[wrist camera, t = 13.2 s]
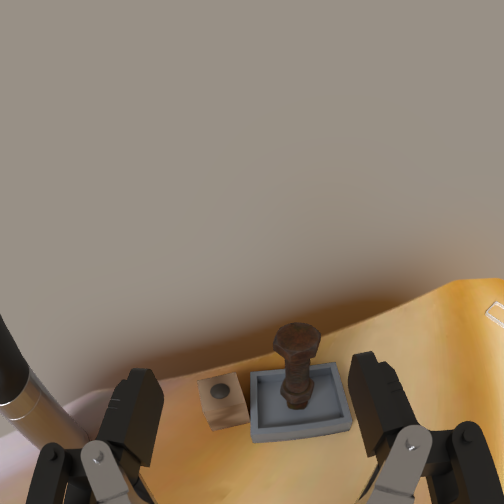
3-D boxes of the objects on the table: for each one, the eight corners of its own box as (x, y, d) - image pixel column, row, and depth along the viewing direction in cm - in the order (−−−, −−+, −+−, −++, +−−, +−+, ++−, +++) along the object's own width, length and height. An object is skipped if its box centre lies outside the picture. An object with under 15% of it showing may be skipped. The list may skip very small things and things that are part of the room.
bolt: (287, 387, 41) (284, 317, 35) (317, 393, 39) (323, 323, 33) (275, 415, 36) (268, 349, 30) (307, 422, 34) (312, 357, 28)
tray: (253, 443, 33) (250, 434, 32) (252, 382, 44) (250, 371, 43) (349, 430, 32) (352, 421, 31) (333, 372, 43) (335, 361, 42)
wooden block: (212, 431, 35) (202, 411, 33) (205, 402, 41) (196, 380, 38) (250, 422, 37) (245, 401, 34) (241, 393, 42) (235, 371, 39)
